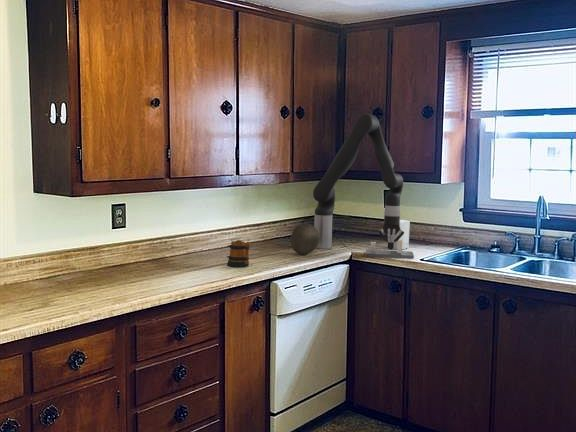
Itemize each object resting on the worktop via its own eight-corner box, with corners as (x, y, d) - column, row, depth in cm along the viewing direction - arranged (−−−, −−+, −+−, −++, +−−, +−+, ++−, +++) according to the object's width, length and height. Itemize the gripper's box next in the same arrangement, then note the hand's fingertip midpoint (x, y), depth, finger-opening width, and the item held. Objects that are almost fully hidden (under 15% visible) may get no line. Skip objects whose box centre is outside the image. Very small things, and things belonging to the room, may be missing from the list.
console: (365, 256, 311) (366, 245, 311) (365, 252, 323) (366, 241, 322) (413, 258, 308) (414, 247, 308) (412, 254, 320) (412, 243, 320)
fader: (396, 253, 313) (397, 240, 312) (396, 252, 316) (397, 239, 315) (401, 253, 312) (402, 240, 312) (401, 252, 315) (402, 239, 315)
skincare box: (400, 247, 342) (401, 219, 340) (409, 248, 337) (410, 220, 335) (389, 248, 336) (391, 220, 335) (398, 250, 332) (400, 221, 330)
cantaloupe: (289, 256, 305) (290, 225, 303) (290, 251, 319) (291, 221, 317) (319, 257, 305) (320, 226, 303) (319, 252, 319) (320, 222, 317)
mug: (221, 265, 282) (221, 239, 280) (239, 262, 289) (240, 237, 287) (240, 269, 272) (240, 243, 271) (258, 267, 279) (258, 241, 278)
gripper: (378, 215, 309) (376, 250, 311) (406, 216, 308) (404, 251, 310) (378, 213, 317) (376, 247, 319) (405, 214, 315) (403, 249, 317)
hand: (390, 249), depth 314 cm, fingers closed
